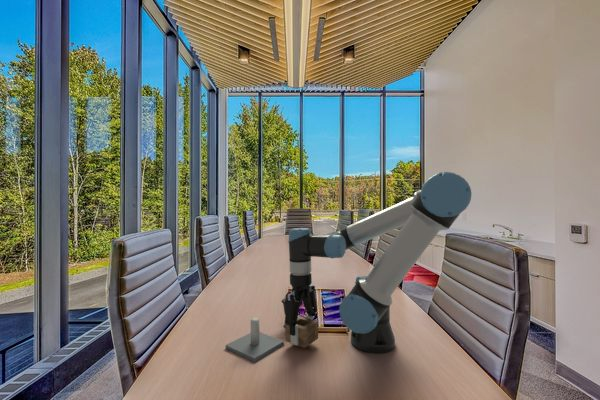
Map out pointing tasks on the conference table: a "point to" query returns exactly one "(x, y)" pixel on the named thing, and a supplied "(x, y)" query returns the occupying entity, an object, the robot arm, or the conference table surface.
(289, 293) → the sundae
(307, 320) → the collar
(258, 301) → the conference table surface
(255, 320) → the post stand
